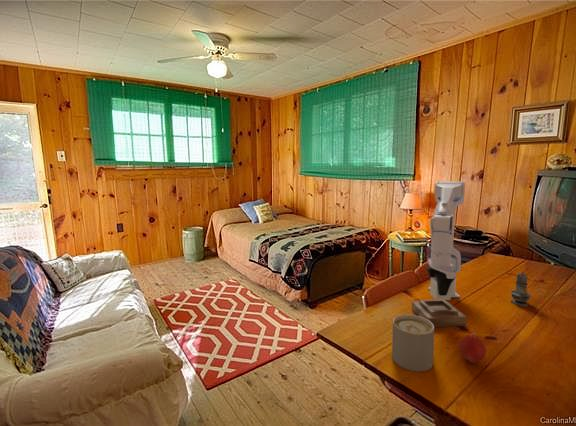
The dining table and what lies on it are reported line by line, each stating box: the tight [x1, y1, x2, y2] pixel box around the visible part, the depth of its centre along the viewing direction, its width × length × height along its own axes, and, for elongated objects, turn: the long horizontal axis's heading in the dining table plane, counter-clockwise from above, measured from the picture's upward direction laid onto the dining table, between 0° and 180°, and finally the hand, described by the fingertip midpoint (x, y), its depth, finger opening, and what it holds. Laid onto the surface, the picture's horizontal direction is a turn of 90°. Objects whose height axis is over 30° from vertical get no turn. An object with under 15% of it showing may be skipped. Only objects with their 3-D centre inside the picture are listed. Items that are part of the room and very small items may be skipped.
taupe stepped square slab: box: [411, 299, 467, 328], centre depth 99 cm, size 12×12×4 cm
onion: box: [458, 333, 487, 364], centre depth 76 cm, size 6×6×8 cm
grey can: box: [391, 313, 435, 372], centre depth 78 cm, size 13×10×10 cm
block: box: [429, 277, 452, 301], centre depth 97 cm, size 4×4×6 cm
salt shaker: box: [510, 271, 532, 307], centre depth 106 cm, size 6×6×12 cm
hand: (439, 291), depth 98 cm, fingers closed on block, 4 cm apart
